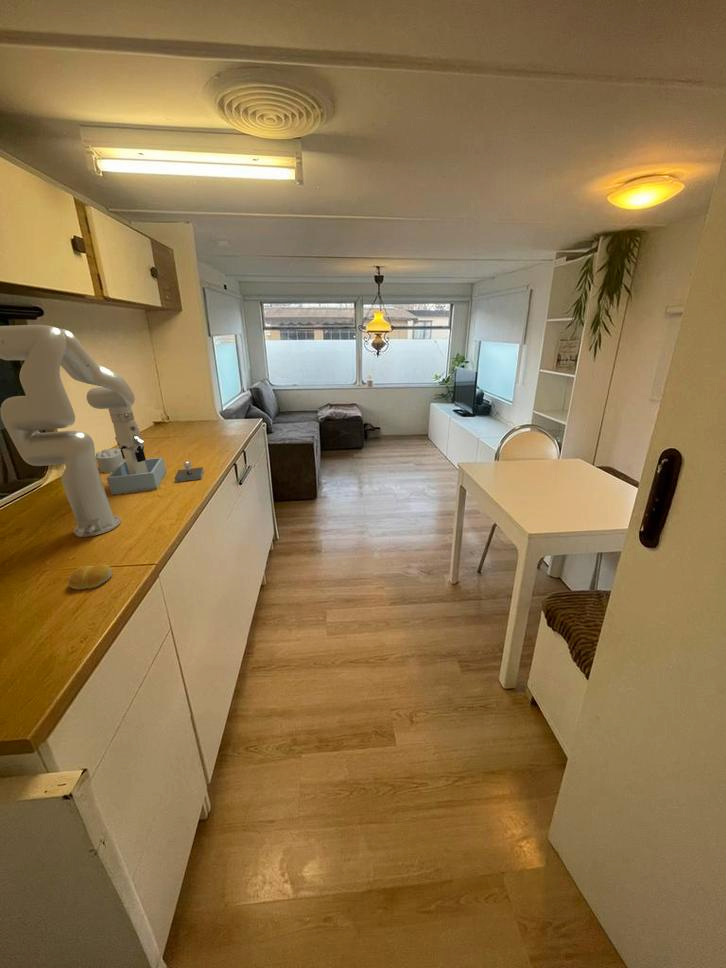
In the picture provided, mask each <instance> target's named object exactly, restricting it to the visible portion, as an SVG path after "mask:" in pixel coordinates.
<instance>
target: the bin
mask: <svg viewBox="0 0 726 968" xmlns="http://www.w3.org/2000/svg"><path fill="white" fill-rule="evenodd" d="M145 463H146V467H147V470H148V473H140V474H132V475H130V474H129V471H128V467H127V464H126V461H125V462H121V463H120V464H119V465H118V466H117V468H116V469H115V470H114V471H113V472H112V473H109V475H108V476H107V477H106V481H107V485H108V487H109V490H110V494H111V496H113V495H114V494H116V495H123V494H122V493H124V494H130V492H132V493H138V492H139V491H140V492H147V491H146V490H148V491H153V490H152V489H156V490H158V489H159V487H160V485H161V483H162V481H163V480H164V478H163V477H165V476H166V474H167V468H166V464H165V461H164V457H154V458H146V460H145ZM165 473H166V474H165ZM164 475H165V476H164ZM162 479H163V480H162ZM161 480H162V481H161ZM160 482H161V483H160ZM159 484H160V485H159ZM158 486H159V487H158ZM157 488H158V489H157ZM114 496H115V495H114Z"/></svg>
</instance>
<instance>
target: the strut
mask: <svg viewBox="0 0 726 968" xmlns="http://www.w3.org/2000/svg"><path fill="white" fill-rule="evenodd" d="M136 448H138V447H136ZM122 450H123V454H124V457H125V461H126V464H127V467H128V471H129V474H130V475H132V474H140V473H148V470H147V467H146V463H145V461H141V462H137V459H136V455H135V452H136V451H135V450H134V449H133V447H127V448H125V449H122Z"/></svg>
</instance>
